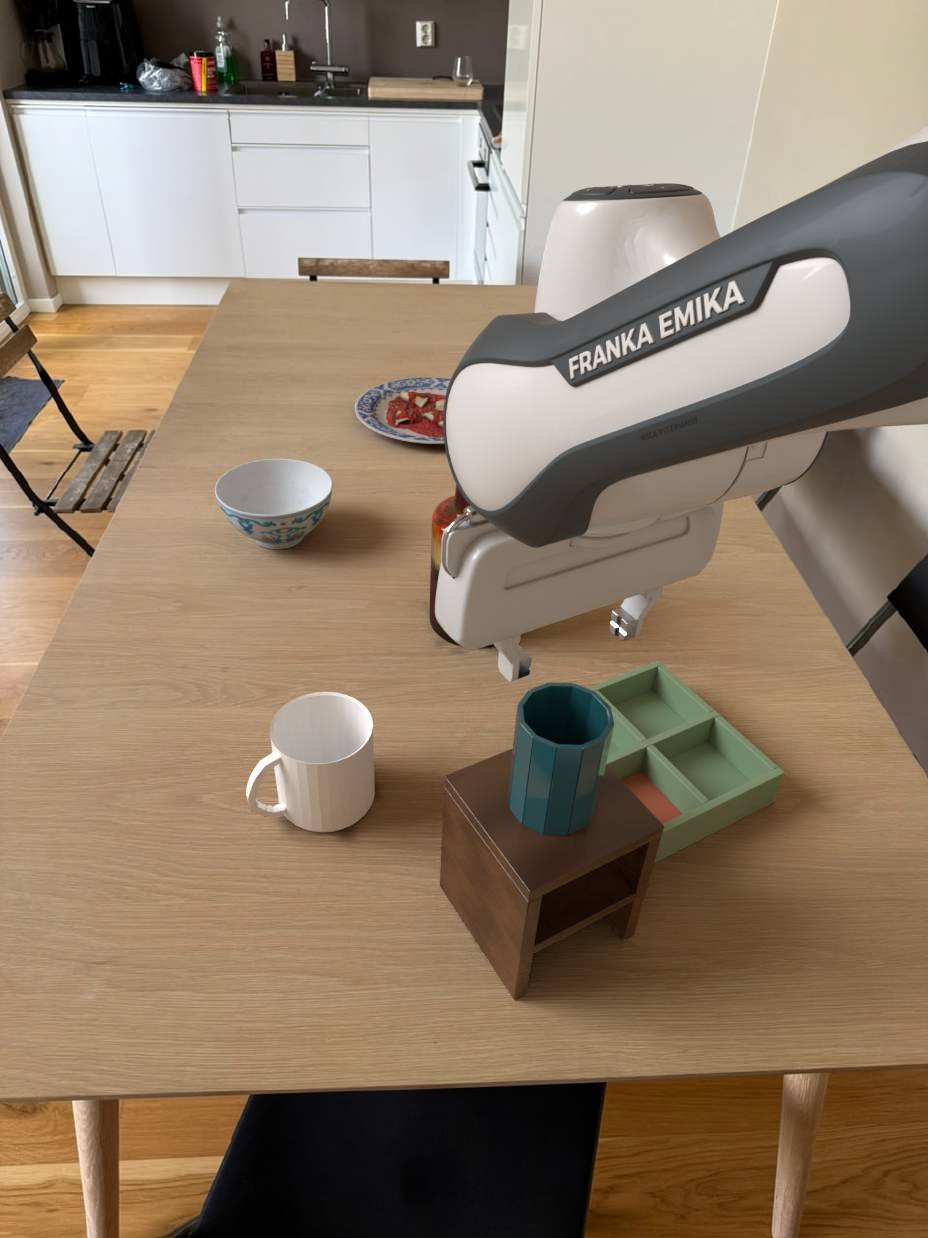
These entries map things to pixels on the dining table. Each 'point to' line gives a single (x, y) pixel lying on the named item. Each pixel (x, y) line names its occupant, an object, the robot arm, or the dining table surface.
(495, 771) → the shelf
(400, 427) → the ceramic plate
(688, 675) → the dining table surface
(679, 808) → the tray
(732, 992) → the dining table surface
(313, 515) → the chinaware
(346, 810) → the mug
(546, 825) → the cup
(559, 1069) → the dining table surface
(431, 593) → the vase
